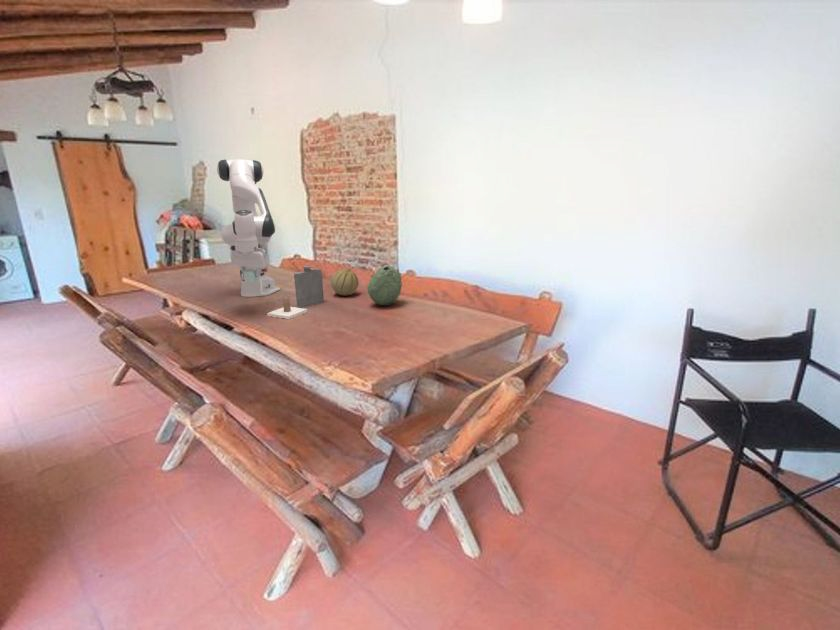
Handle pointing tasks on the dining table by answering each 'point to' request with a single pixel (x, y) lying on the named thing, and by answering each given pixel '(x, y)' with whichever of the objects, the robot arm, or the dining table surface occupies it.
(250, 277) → the cap
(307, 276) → the hip flask
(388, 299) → the green bumpy rounded body
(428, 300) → the dining table surface
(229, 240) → the robot arm
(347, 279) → the cantaloupe
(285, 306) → the post stand
